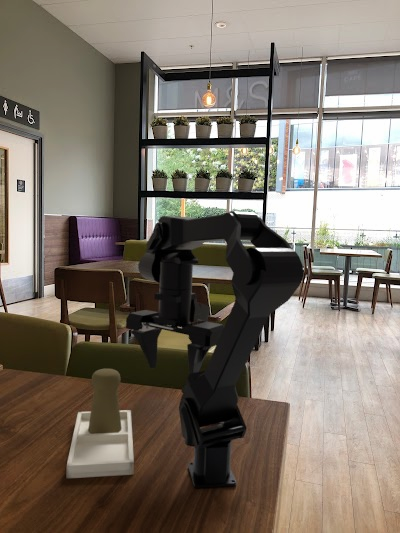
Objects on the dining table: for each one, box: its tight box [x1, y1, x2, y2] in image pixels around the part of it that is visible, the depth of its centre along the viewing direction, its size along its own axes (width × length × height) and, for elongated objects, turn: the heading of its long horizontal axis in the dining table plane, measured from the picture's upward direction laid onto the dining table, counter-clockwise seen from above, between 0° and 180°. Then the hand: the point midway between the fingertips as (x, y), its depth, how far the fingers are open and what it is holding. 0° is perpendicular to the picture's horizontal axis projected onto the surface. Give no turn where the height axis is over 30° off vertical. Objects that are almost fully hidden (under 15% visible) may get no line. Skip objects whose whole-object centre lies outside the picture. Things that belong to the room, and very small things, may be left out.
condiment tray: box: [66, 409, 135, 479], centre depth 77 cm, size 19×10×2 cm, turn 10°
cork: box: [88, 368, 122, 434], centre depth 82 cm, size 6×6×11 cm
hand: (172, 373), depth 80 cm, fingers open, 9 cm apart
